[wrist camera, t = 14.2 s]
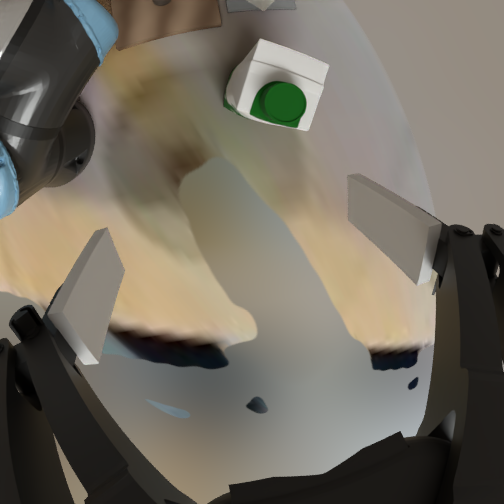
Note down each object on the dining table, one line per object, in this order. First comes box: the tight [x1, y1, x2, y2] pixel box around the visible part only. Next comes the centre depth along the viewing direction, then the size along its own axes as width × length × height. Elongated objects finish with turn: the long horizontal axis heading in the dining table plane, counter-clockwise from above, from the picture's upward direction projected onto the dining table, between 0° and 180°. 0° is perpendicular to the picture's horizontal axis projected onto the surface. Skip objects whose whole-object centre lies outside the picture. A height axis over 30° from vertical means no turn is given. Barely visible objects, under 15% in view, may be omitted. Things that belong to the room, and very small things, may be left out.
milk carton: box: [224, 39, 329, 131], centre depth 30 cm, size 9×9×20 cm
